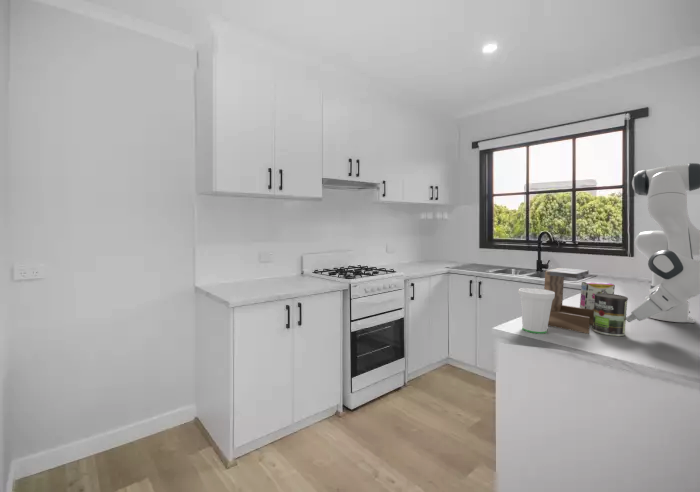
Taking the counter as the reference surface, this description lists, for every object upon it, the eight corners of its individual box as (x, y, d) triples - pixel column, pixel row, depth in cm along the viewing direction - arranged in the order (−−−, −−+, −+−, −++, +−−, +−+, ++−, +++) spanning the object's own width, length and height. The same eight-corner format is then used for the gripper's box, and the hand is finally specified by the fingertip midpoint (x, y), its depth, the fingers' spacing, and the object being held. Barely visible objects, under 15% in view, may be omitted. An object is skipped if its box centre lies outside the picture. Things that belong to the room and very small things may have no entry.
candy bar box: (584, 321, 154) (587, 283, 153) (578, 318, 159) (580, 281, 157) (612, 322, 152) (615, 284, 151) (605, 319, 157) (608, 282, 156)
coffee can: (614, 337, 132) (617, 299, 131) (586, 329, 141) (588, 294, 140) (631, 334, 136) (634, 297, 135) (603, 327, 145) (605, 292, 145)
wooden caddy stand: (557, 317, 160) (559, 267, 159) (599, 325, 149) (602, 271, 147) (542, 324, 148) (545, 270, 146) (587, 333, 136) (591, 275, 135)
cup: (548, 327, 143) (551, 289, 142) (556, 336, 132) (558, 295, 131) (514, 324, 147) (516, 287, 146) (518, 333, 135) (520, 292, 134)
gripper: (659, 287, 136) (625, 308, 143) (652, 294, 121) (614, 317, 129) (674, 301, 133) (639, 322, 140) (668, 309, 118) (629, 332, 126)
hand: (627, 320), depth 134 cm, fingers closed, pressing on coffee can
